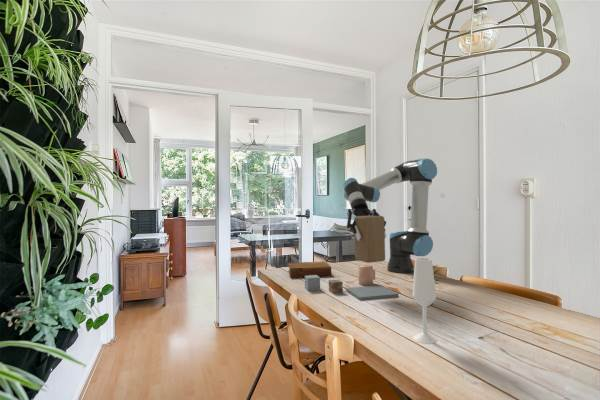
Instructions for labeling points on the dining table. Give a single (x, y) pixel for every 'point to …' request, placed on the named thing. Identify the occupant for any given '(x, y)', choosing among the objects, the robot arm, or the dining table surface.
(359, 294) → the slate grey board
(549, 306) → the dining table surface
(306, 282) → the blue grey box
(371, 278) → the peach rounded cylinder
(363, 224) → the wooden block
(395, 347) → the dining table surface
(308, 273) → the diary
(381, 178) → the robot arm
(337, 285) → the walnut cube
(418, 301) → the champagne flute
